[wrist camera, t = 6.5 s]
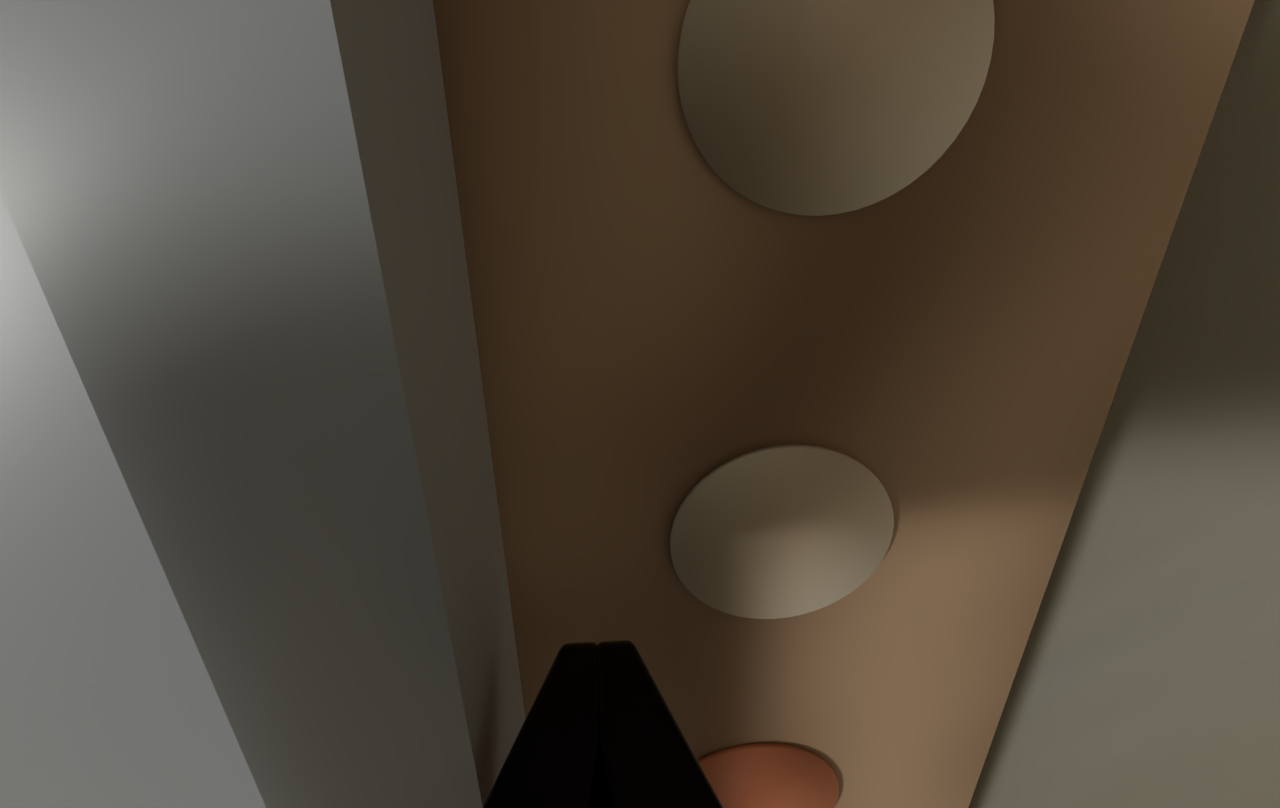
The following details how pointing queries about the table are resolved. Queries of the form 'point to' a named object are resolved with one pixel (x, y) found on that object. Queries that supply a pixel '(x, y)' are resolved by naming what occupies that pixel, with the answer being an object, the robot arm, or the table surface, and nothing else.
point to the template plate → (812, 343)
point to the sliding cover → (241, 416)
